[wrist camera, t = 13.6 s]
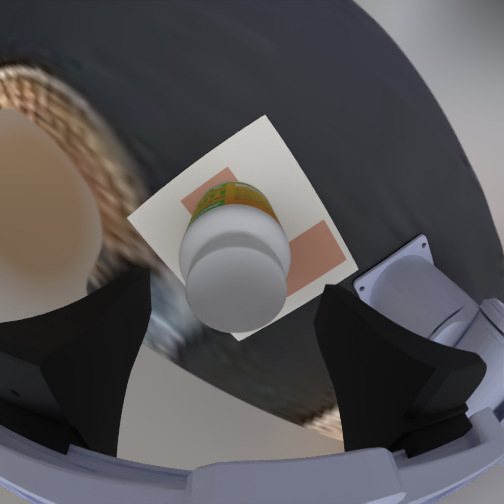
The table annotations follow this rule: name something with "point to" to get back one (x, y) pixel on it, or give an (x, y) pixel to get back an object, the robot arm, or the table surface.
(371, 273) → the robot arm
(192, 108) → the table surface
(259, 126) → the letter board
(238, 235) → the supplement bottle
